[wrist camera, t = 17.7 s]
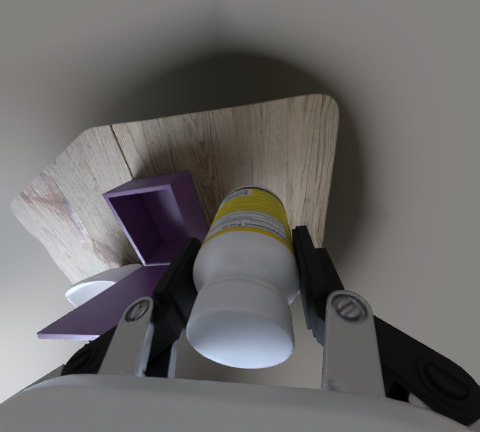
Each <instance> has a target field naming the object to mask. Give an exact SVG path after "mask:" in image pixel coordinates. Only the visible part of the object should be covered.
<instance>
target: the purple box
mask: <svg viewBox="0 0 480 432" xmlns="http://www.w3.org/2000/svg"><path fill="white" fill-rule="evenodd" d="M102 195H103V197H104V198H105V200H106V202H107V204H108V205H109V207H110V209H111V210H112V212H113V214H114V215H115V217H116V219H117V221H118V222H119V224H120V226H121V227H122V229H123V231H124V232H125V234H126V236H127V238H128V239H129V241H130V243H131V244H132V246H133V248H134V249H135V251H136V253H137V255H138V256H139V258H140V260H141V261H142V263H143V265H144V266H153V265H170V263H171V262H172V260H173V258H174V257H175V255H176V254H177V252H178V250H179V249H180V247H181V246H182V244H183V243H184V241H185V239H186V238H190V237H197V239H200V241H201V244H203V242H204V240H205V238H206V236H207V234H208V227H207V224H206V221H205V218H204V215H203V212H202V209H201V206H200V202H199V199H198V196H197V193H196V190H195V187H194V184H193V181H192V177H191V174H190V171H189V170H187V171H180V172H174V173H168V174H162V175H156V176H150V177H144V178H138V179H133V180H131V181H129V182H127V183H125V184H123V185H120V186H118V187H116V188H114V189H112V190H110V191H108V192H106V193H104V194H102Z"/></svg>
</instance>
